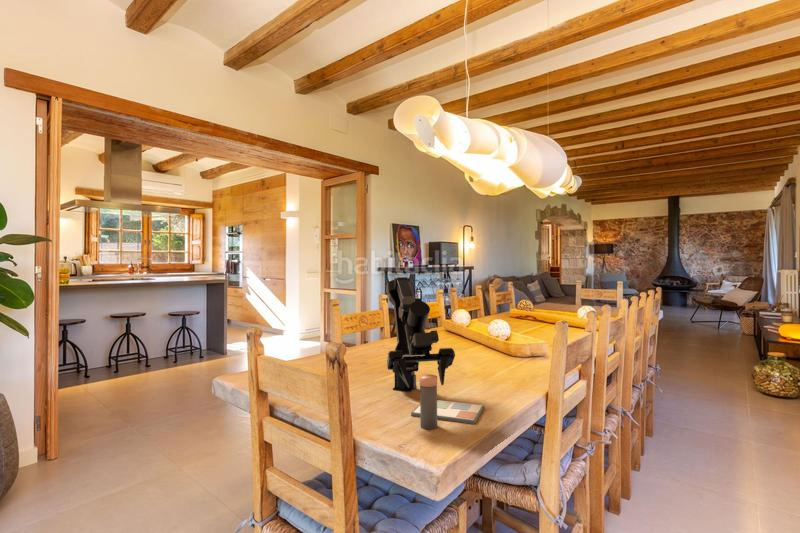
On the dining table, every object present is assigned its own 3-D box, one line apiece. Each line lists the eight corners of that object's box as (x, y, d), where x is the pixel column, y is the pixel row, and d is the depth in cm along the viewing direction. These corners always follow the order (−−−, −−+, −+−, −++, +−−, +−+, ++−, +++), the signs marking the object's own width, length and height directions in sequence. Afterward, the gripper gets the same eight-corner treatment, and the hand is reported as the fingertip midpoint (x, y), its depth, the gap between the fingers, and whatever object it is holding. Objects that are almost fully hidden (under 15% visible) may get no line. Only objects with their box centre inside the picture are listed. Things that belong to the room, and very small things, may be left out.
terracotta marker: (417, 428, 107) (417, 378, 107) (423, 422, 111) (422, 373, 111) (434, 430, 105) (434, 379, 105) (439, 424, 109) (439, 375, 109)
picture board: (411, 415, 116) (411, 412, 116) (425, 401, 128) (425, 397, 128) (475, 424, 109) (475, 420, 109) (484, 407, 121) (484, 404, 121)
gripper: (387, 322, 114) (394, 371, 103) (452, 319, 118) (466, 367, 107) (384, 345, 122) (390, 393, 111) (445, 342, 125) (457, 389, 114)
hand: (426, 385), depth 111 cm, fingers open, 9 cm apart
